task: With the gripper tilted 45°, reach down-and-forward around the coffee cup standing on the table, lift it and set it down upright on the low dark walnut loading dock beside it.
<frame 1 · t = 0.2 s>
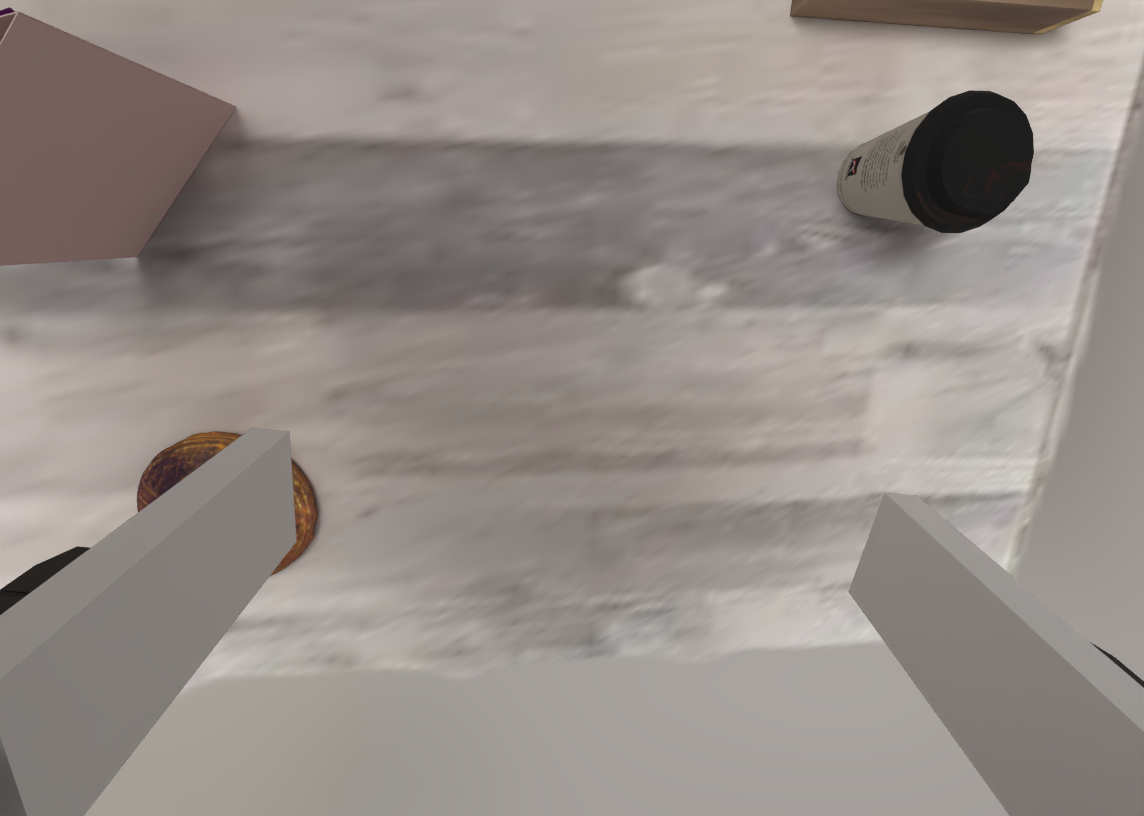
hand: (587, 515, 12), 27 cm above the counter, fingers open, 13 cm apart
coffee cup: (868, 179, 38), on the counter
greeting card: (167, 181, 34), on the counter
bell: (237, 503, 41), on the counter
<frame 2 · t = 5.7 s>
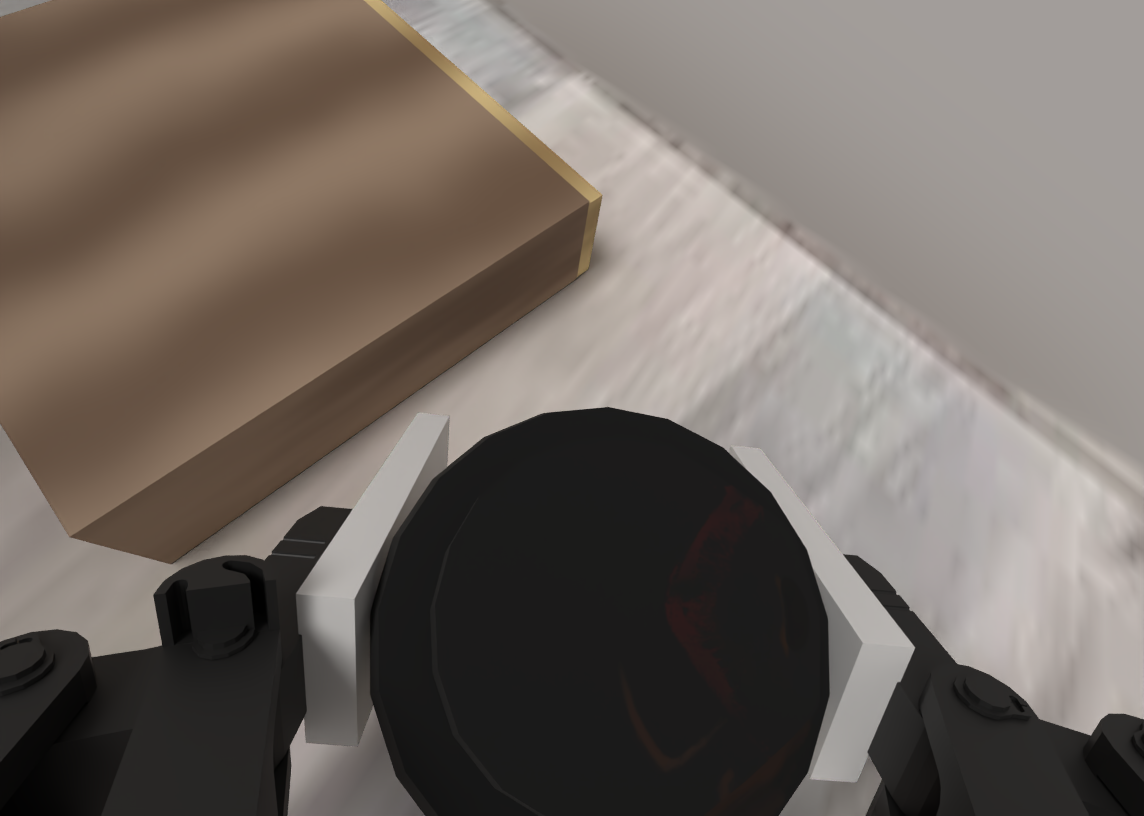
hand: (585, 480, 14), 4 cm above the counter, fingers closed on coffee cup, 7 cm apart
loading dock: (258, 233, 21), on the counter
coffee cup: (560, 635, 16), on the counter, touching gripper
when the fingers open (9 cm above the counter, at t = 11.0 s): coffee cup drops 1 cm, resting on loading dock.
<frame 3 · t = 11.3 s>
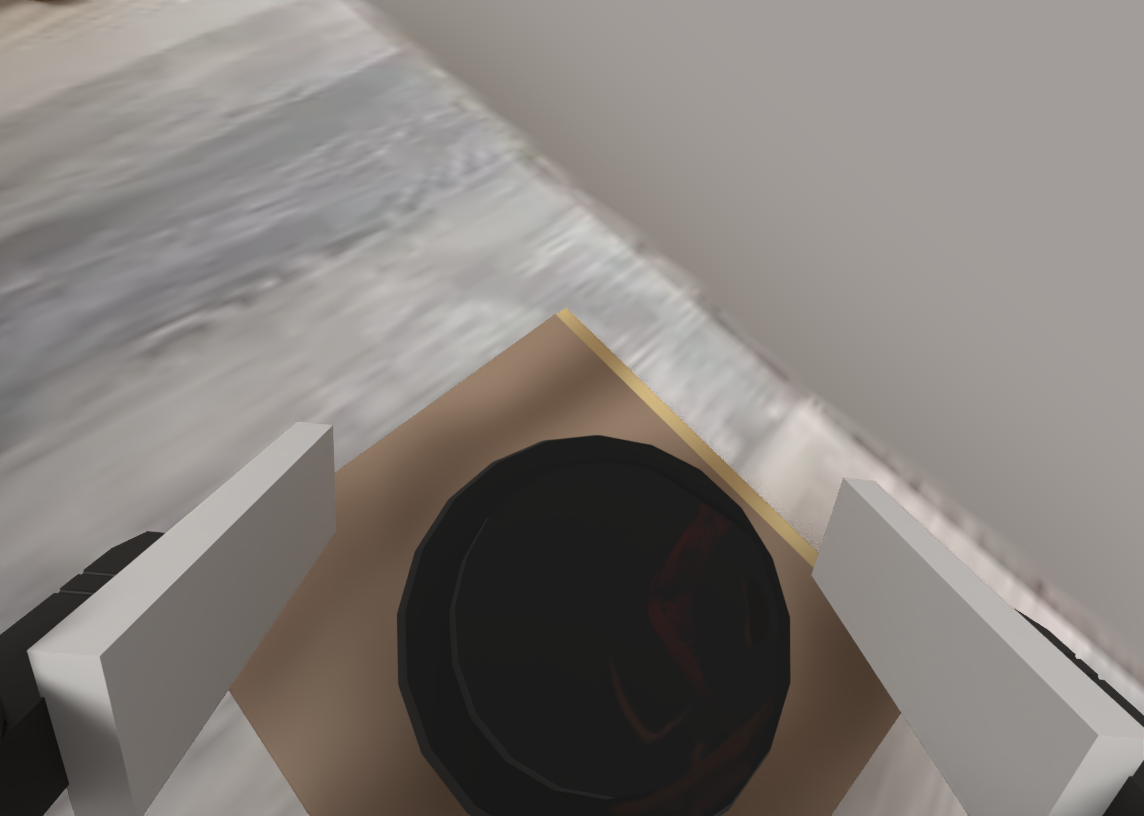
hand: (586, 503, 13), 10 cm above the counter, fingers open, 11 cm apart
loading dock: (550, 640, 21), on the counter
coffee cup: (561, 640, 18), point 4 cm above the counter, touching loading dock
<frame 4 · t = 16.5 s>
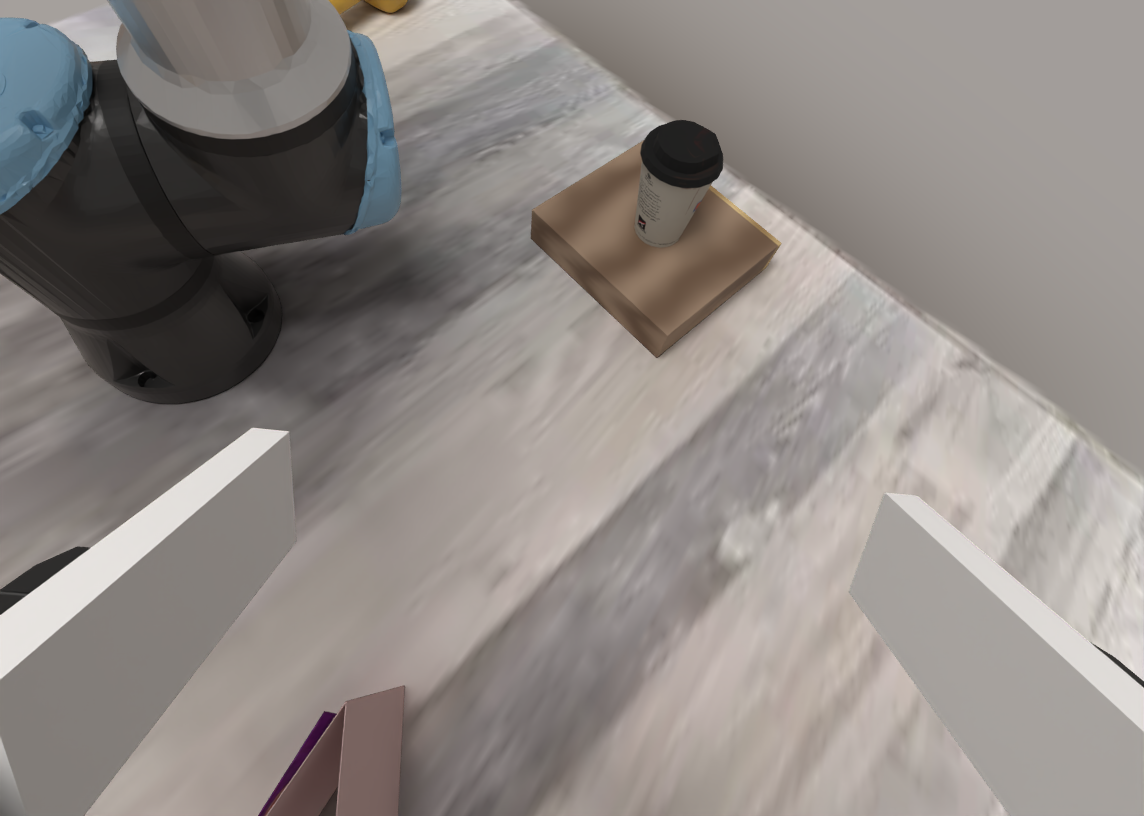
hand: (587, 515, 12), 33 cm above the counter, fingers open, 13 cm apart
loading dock: (647, 255, 57), on the counter
coffee cup: (657, 230, 54), point 4 cm above the counter, touching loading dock
greeting card: (384, 792, 37), on the counter
dumbbell: (345, 33, 67), on the counter
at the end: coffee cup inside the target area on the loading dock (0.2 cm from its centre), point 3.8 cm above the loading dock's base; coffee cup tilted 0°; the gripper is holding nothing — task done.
